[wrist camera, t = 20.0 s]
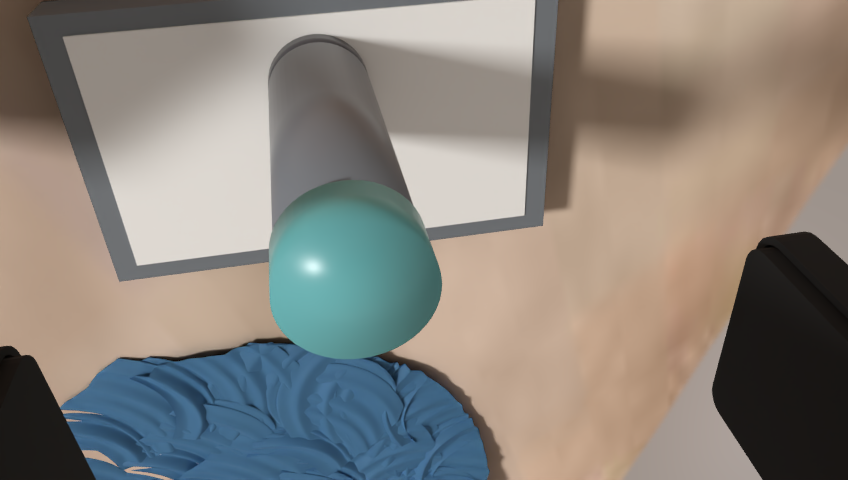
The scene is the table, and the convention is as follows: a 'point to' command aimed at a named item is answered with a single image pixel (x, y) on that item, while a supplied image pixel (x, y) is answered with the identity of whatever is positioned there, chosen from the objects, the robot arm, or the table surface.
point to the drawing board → (249, 113)
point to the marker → (341, 210)
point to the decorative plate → (274, 419)
